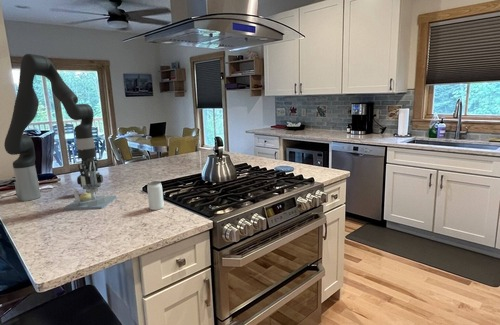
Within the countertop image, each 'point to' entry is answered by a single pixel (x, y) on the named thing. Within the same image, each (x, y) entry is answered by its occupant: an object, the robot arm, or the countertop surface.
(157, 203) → the can
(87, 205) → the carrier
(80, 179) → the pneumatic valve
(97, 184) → the planet gear
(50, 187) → the countertop surface
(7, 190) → the countertop surface
